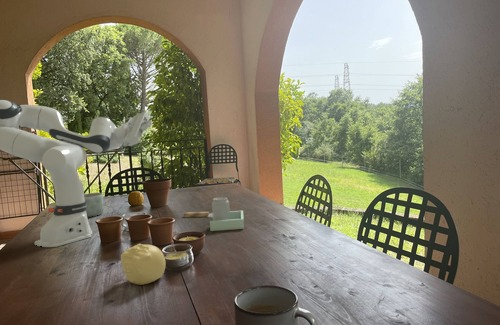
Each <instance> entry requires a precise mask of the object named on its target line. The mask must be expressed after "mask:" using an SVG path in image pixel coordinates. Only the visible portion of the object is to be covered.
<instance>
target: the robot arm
mask: <svg viewBox="0 0 500 325" xmlns="http://www.w3.org/2000/svg"><path fill="white" fill-rule="evenodd" d="M151 125H152V120H150V117H149V115H148V113H146V112H143V111H142V112H141V113H137V114H136V115H134V116H133V117H128V118H127V119H126V121H125V122H123V124H121V126H116V124H115V123H114V122H113V121H112V120H111V119H110V118H109V117H106V116H97V117H95V118H93V119H92V122H91V124H90V128H89V129H90V130H89V133H88V135H84V134H81V133H78V132H74V131H71V130H69V129H67V128H66V126H65V124H64V118H63V116H62V114H61V113H60V111H59V110H57V109H55V108H53V107H48V106H44V105H36V104H21V105H19V104H18V103H16V102H14V101H13V100H12V101H11V100H8V99H0V151H2V152H4V153H6V154H10V155H12V156H14V157H19V158H21V159H24V160H26V161H27V160H28V161H29V162H34V163H40V164H42V166H43V167H44V169H45V170H46V171H47V172H48V174H49V177H50V178H51V181H52V184H53V189H54V195H55V207H47V208H48V209H47V212H48V213H53V214H52V217H51V218H49V220H48V221H47V222H45V224H44V225H43V226H42V227H41V228H40V235H39V236H40V238H39V239H37V240H35V241H34V245H35V246H36V245H37V247H40V246H42V248H57V247H61V246H64V245H68V244H71V243H75V242H79V241H81V240H85V239H89V238H91V236H92V234H93V231H92V229H91V226H90V222H89V219H88V218H89V217H87V213H86V211H87V206H86V202H85V198H84V194H85V191H84V184H83V181H81V179H80V177H79V175H78V170H77V169H79V168H81V167H82V166H83V165H84V164H85V162H86V160H87V156H88V155H87V152H86V150H88V151H90V152H92V153H95V154H102V153H104V152H107V151H114V150H116V149H119V148H120V147H122V146H123V147H127V146H129V147H133V146H135V145H138V143H140V142H141V139H142V136H143V134H144V133H145V131H146V130H147V129H149V128H150V127H151ZM20 128H29V129H32V130H36V131H41V132H42V131H43V132H45V133H47V134H49V135H50V137H51V138H49V137H46V136H41V135H39V134H35V133H33V132H29V131H27V130H23V129H20ZM85 149H86V150H85Z"/></svg>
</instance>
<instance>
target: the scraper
mask: <svg viewBox="0 0 500 325" xmlns="http://www.w3.org/2000/svg"><path fill="white" fill-rule="evenodd" d="M212 213H213V212H211V213H210V211H193V212H192V211H189V212H188V211H187V212H184V213H183V217H184V218H199V217H200V218H201V217H204V218H205V217H206V218H208V219H209V218H210V219H211V218H212ZM212 219H213V218H212Z"/></svg>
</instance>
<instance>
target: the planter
mask: <svg viewBox="0 0 500 325" xmlns="http://www.w3.org/2000/svg"><path fill="white" fill-rule="evenodd" d="M84 198H85V202H86V206H87V211H86V213H87V218H90V217H91V218H93V217H98V216H100V215H102V214H103V213H104V210H105V207H104V193H103V192H90V193H84ZM97 215H98V216H97ZM92 216H93V217H92Z"/></svg>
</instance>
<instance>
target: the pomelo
mask: <svg viewBox="0 0 500 325" xmlns="http://www.w3.org/2000/svg"><path fill="white" fill-rule="evenodd" d="M165 257H166V256H165V255H164V254H163V251H162V250H161V249H160V248H159V247H157V246H155V245H152V244H142V243H137V244H135V245H133V246H132V247H127V249H125V251H124V252H122V253H121V254H120V261H121V266H122V269H123V271H124V274H125V277H126V279H127V281H128V282H130V283H132V284H134V285H141V286H143V285H147V284H150V283H154V282H155V281H157V280H159V279H160V278H161V277H162V276H164V273H165V270H166V264H167V263H166V262H167V261H166V258H165Z"/></svg>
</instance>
